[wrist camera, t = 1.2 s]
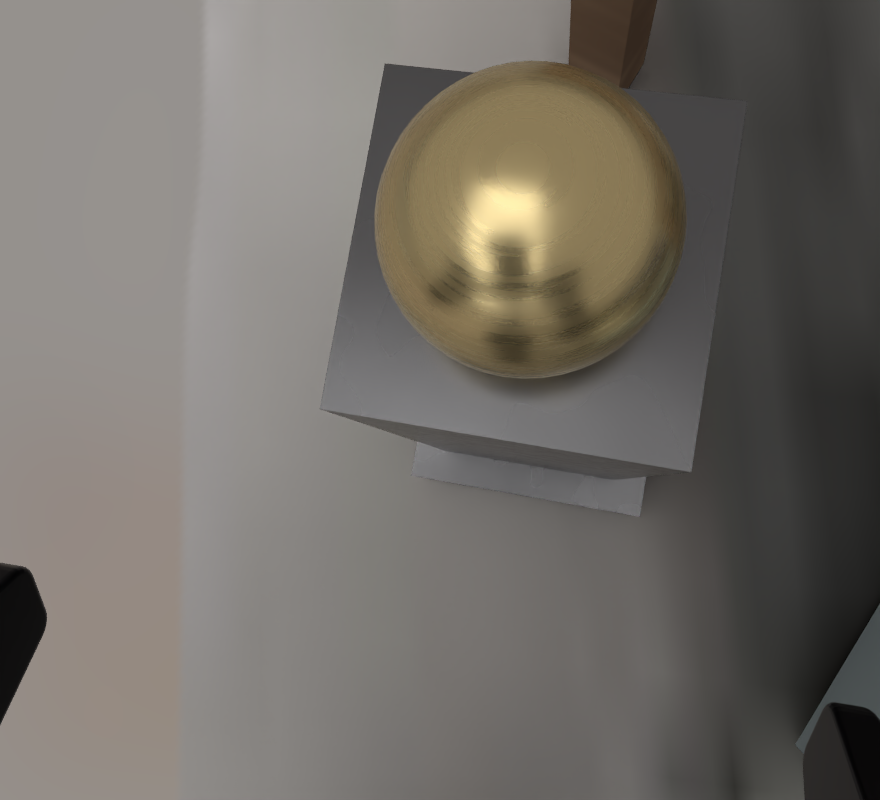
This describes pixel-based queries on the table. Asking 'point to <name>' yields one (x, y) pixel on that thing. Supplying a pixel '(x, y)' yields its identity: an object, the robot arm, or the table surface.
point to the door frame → (610, 37)
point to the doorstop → (536, 278)
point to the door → (854, 678)
